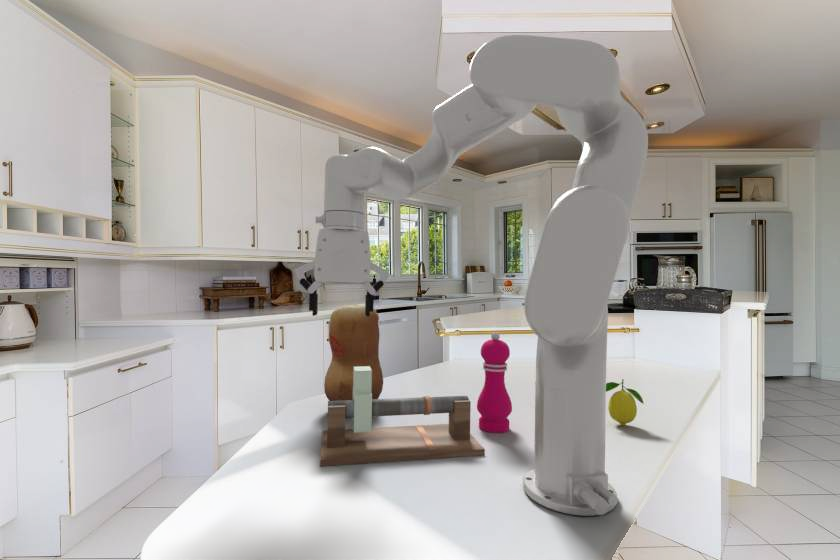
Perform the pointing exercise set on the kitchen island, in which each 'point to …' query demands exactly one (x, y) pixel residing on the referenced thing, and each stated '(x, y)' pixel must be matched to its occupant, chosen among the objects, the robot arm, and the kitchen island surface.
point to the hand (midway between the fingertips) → (341, 315)
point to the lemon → (622, 403)
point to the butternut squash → (352, 351)
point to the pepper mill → (494, 387)
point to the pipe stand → (399, 432)
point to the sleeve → (362, 399)
